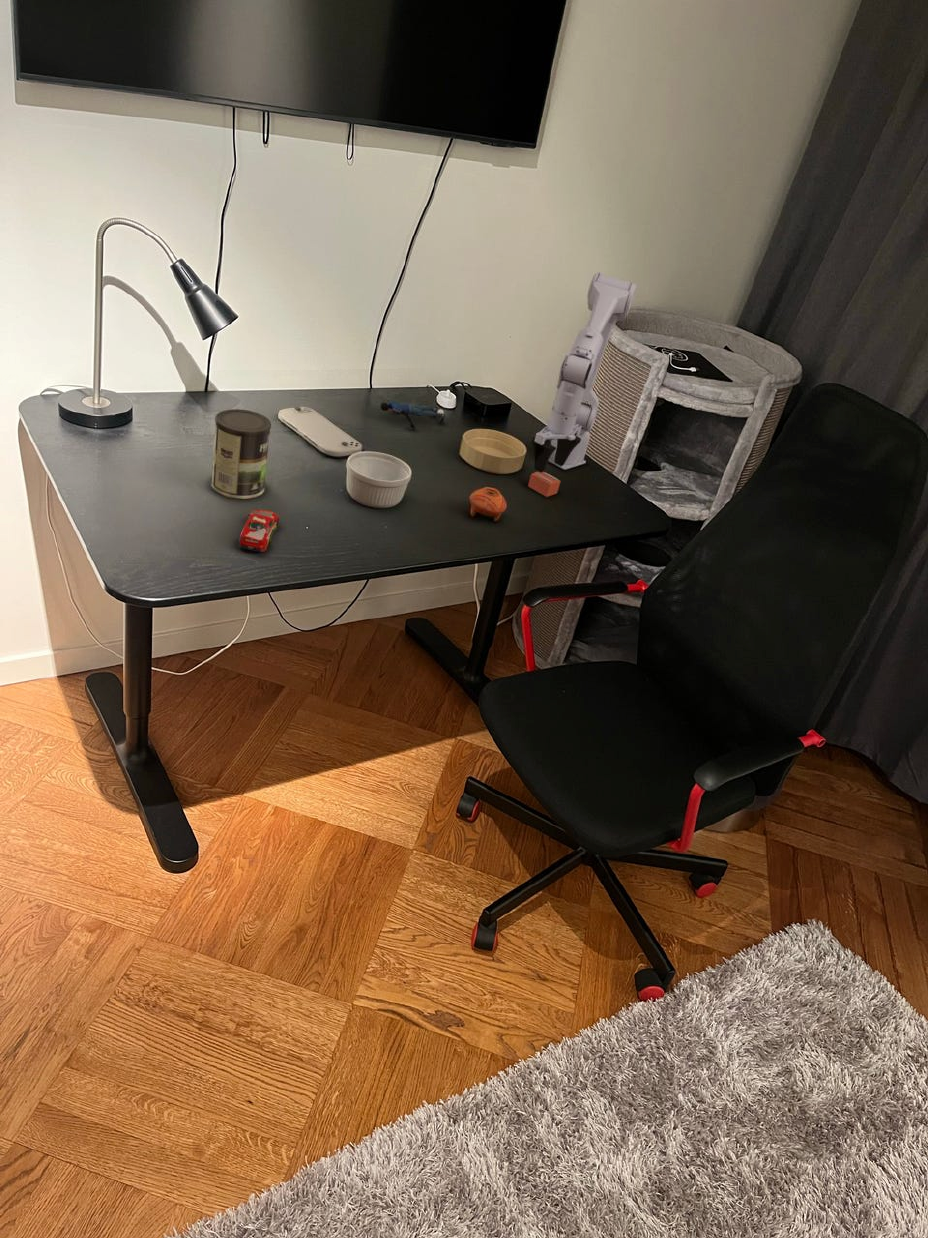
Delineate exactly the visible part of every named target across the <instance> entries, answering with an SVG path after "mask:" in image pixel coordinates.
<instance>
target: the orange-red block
mask: <svg viewBox="0 0 928 1238" xmlns="http://www.w3.org/2000/svg"><path fill="white" fill-rule="evenodd" d="M560 484H561V480H559V479H558V478H557V477H556V476H553V475H551V474H549V473H547V472H545V470H544V471H543V472H542V473H541V472H539V471H536V472H533V473H531V474H530V477H529V480H528V485H527V487H528V488H530V489H532V490H534V491H535V492H537V493H539V494H540V495H542V496H544V497H546V498H548V497H551V496H553V495H556V494H558V491H559V488H560Z"/></svg>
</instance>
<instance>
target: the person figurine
mask: <svg viewBox="0 0 928 1238" xmlns="http://www.w3.org/2000/svg"><path fill="white" fill-rule="evenodd" d="M379 406H380V410H382V411H384V412H387V411H389V409H390V410H392V411H393V413H394V414H395V413H396V414H397V415H400V414H402V415H403V416H405V417H406V419H407V421H408V422H409V428H410V429H411V430H412V431H416V428H417V427H416V426H415V425H414V423H413V422H412V420H411V417H410V415H412V416H415V417H433V418H437V417H438V418H439V421H440V422H439V423H440V425H443V424H444V422H445V418H446V413H444V410H443V409H441V408H440V409H439V407H437V406H434V407H433V406H426V405H422V406H418V405H415V404H411V403H404V404H401V403H397V402H396V401H395V400H390V401H388V402H387V403H386V402H382V403H380V405H379Z"/></svg>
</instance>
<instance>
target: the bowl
mask: <svg viewBox="0 0 928 1238" xmlns="http://www.w3.org/2000/svg"><path fill="white" fill-rule="evenodd" d="M459 455H460V457H461V458H462V460H464V461H465V462H466V463H467V464H469V466H472V467H473V468H476V469H478V470H480V471H483V472H486V473H490V474H499V475H508V474H513V473H516V472H519V471H520V470H521V469H522V468H523V465H524V462H525V458H526V455H527V447H526V446H525V444H524V443H523V442H522V441H521V440H519V439H518V438H516V437H514V436H512V435H510V434H507V433H505V432H501V431H499V430H495V429H489V428H488V429H487V428H473V429H469V430H466V431H464V433H463V435H462V438H461V443H460V446H459Z"/></svg>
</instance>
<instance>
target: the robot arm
mask: <svg viewBox="0 0 928 1238" xmlns="http://www.w3.org/2000/svg"><path fill="white" fill-rule="evenodd" d="M636 292H637V285H636V282H630V281H628V280H627V281H626V280H623V279H620V278H617V277H613V276H609V275H607V274H603V273H601V272H599V271H598V272H596V273H594V274H593V276H592V279H591V280H590V283H589V286H588V291H587V297H586V298H587V308H588V310H589V311H590V315H589V318H588V322H587V325H586V327H585V328H582V329H580V330H579V331H578V333H577V335H576V337H575V340H574V342H573V345H572V347H571V349H570V352H569V354H568V355H565V356H564V358H563V360H562V362H561V365H560V369H559V374H558V379H557V380H558V381H557V385H556V388H557V390H556V392H555V397H554V401H553V404H552V409H551V411H550V415H549V418H548V422H547V424H546V425H545V426H544V428H542V429H541V430H540V431H539V432H536V433H535V434H536V435H535V436H533V437H532V438H531V445H532V448H533V452H534V453H533V454H534V464H533V465H534V471H536V472H541V473H542V472H543V471H544V472H545V470H546V468H547V465H548V463H550V464H552V465H554V466H555V467H558V468H559V469H562V470H564V471H566V470H568V469H572V468H575V467H578V466H581V465H585V464H586V463H587V461H586V460H585V456H586V453H587V449H588V446H589V443H590V439H591V434H590V431H591V430H592V429H593V426H594V424H595V421H596V418H597V415H598V412H599V411H598V410H599V407H600V399H599V397H598V395H596V393H595V392H594V390H593V388H594V386H595V383H596V379H597V376H598V373H599V370H600V367H601V365H602V364H601V363H602V361H603V358H604V355H605V352H606V348H607V346H608V343H609V339H610V336H611V334H612V331H613V328H614V327H615V325H616V324H617V322H619V321H625V320H626V319H627V317H628V316H629V312H630V309H631V307H632V305H633V302H634V299H635V295H636ZM585 402H586V403H585Z"/></svg>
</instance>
